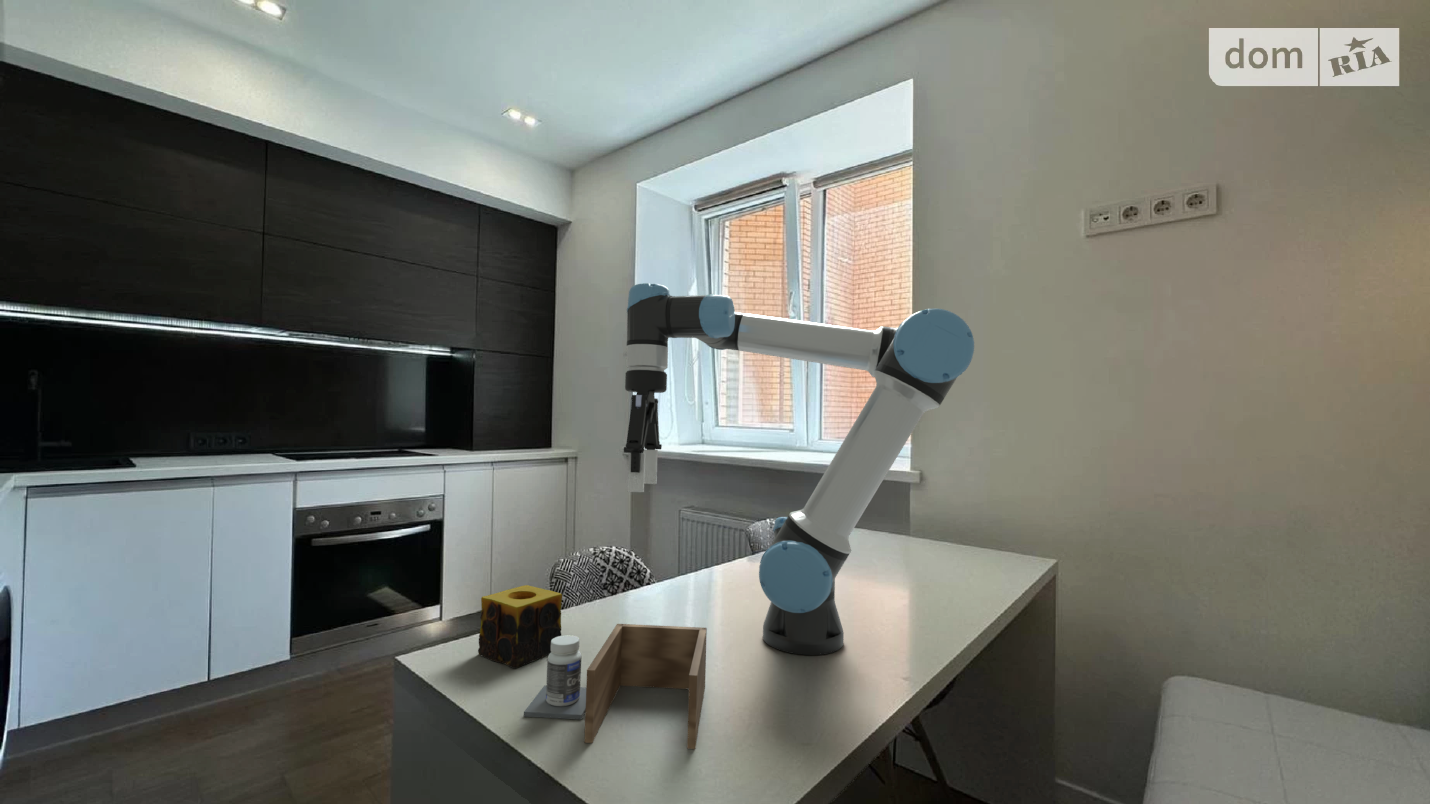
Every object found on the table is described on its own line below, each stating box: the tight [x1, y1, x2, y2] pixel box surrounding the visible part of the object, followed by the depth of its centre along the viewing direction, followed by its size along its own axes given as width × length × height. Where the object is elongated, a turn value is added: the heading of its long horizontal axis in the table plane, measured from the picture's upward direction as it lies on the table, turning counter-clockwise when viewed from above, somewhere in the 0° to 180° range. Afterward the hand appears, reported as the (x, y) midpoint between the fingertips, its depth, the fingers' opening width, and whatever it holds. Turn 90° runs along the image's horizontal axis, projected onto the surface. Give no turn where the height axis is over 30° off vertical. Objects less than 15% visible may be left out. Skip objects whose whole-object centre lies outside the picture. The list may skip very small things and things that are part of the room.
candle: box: [477, 584, 563, 669], centre depth 100 cm, size 10×10×10 cm
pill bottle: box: [546, 634, 582, 706], centre depth 82 cm, size 5×5×8 cm
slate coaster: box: [523, 684, 586, 720], centre depth 82 cm, size 8×8×1 cm
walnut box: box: [583, 623, 708, 750], centre depth 80 cm, size 14×17×9 cm
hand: (642, 487), depth 104 cm, fingers open, 13 cm apart
